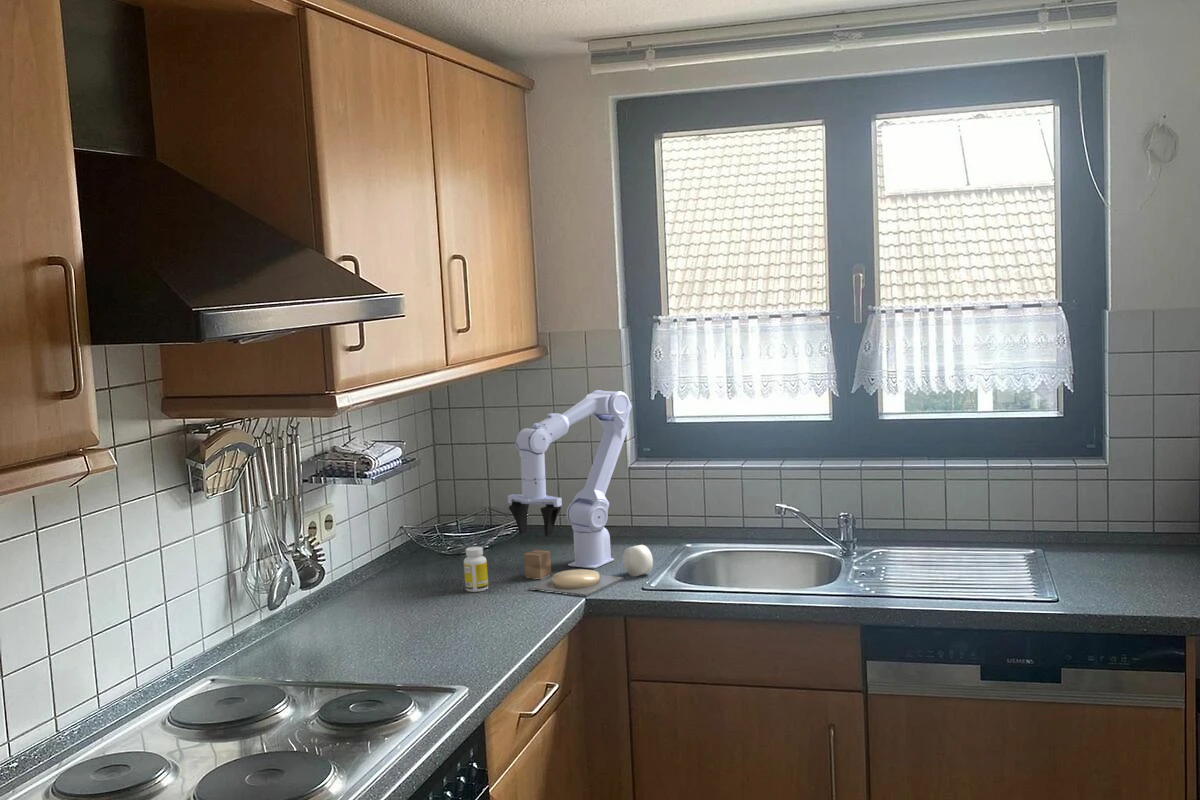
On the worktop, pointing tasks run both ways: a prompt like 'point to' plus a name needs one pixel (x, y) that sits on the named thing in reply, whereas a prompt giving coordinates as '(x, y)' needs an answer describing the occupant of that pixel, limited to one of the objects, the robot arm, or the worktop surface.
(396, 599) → the worktop surface
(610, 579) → the base
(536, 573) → the block
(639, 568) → the white round ball
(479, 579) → the supplement bottle
